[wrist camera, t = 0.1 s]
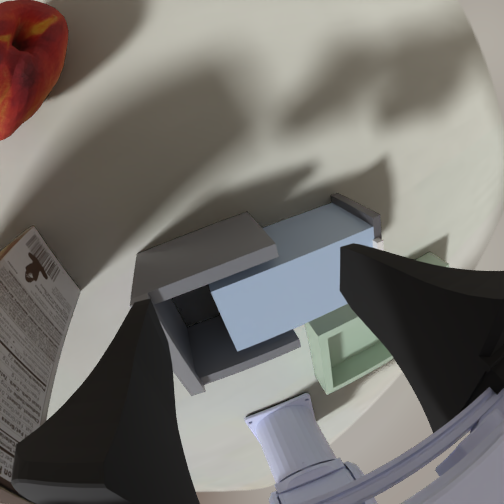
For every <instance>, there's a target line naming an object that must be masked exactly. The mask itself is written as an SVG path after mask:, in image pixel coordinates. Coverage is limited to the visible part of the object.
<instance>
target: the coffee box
mask: <svg viewBox="0 0 504 504" xmlns="http://www.w3.org/2000/svg"><path fill="white" fill-rule="evenodd" d="M79 295H80V289H79V288H78V287H77V285H76V284H75V283H74V281H73V280H72V279H71V278H70V276H69V275H68V274H67V272H66V271H65V270H64V268H63V267H62V266H61V264H60V263H59V261H58V260H57V259H56V257H55V256H54V254H53V253H52V252H51V250H50V249H49V247H48V246H47V244H46V243H45V242H44V240H43V239H42V237H41V236H40V234H39V232H38V231H37V229H36V228H35V227H34V226H31V227H29V228H28V229H27V230H25V231H24V232H23V233H21V234H20V235H19V236H18V237H17V238H15V239H14V240H13V241H12V242H11V243H9V244H8V245H7V246H6V247H5V248H4V249H3V250H1V251H0V503H2V504H35V503H34V502H32V501H30V500H28V499H27V498H25V497H24V496H22V495H21V494H19V493H18V492H17V491H16V490H15V489H14V487H13V486H12V484H11V478H12V469H13V462H14V456H15V449H16V444H18V443H19V442H20V441H22V440H23V439H24V438H26V437H27V436H28V435H30V434H31V433H32V432H34V431H35V430H36V429H38V428H39V427H40V426H41V425H42V424H44V423H45V422H46V418H47V412H48V407H49V402H50V397H51V392H52V388H53V383H54V379H55V375H56V371H57V367H58V363H59V359H60V355H61V351H62V348H63V344H64V341H65V337H66V334H67V331H68V327H69V324H70V321H71V318H72V316H73V312H74V309H75V306H76V303H77V301H78V298H79Z"/></svg>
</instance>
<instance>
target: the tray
mask: <svg viewBox="0 0 504 504" xmlns="http://www.w3.org/2000/svg"><path fill="white" fill-rule="evenodd" d="M416 260H417V261H421V262H425V263H429V264H433V265H438V266H444V267H449V264H448V263H447V262H445V261H444V260H442V259H440V258H439V257H437V256H436V255H434V254H433V253H431V252H429V253H427V254H425V255H423V256H421V257H420V258H418V259H416ZM305 327H306V332H307V337H308V342H309V347H310V352H311V357H312V362H313V367H314V372H315V376H316V378H317V380H318V381H319V383H320V385H321V386H322V388H323V390H324V391H325V393H326V394H327V395H328V394H330V393H332V392H334V391H336V390H338V389H340V388H342V387H344V386H346V385H348V384H350V383H352V382H353V381H355V380H357V379H359V378H361V377H363V376H364V375H366V374H368V373H370V372H372V371H373V370H375V369H377V368H379V367H380V366H382V365H384V364H385V363H387V362H389V361H390V360H392V359H394V358H393V356H392V355H391V354H390V352H389V351H388V350H387V348H386V347H385V346H384V345H383V344H382V343H381V341H380V340H379V339H378V338H377V337H376V336H375V335H374V334H373V332H372V331H371V330H370V329H369V328H368V327H367V326H366V325H365V324H364V322H363V321H362V320H361V319H360V318H359V317H358V316H357V315H356V313H355V312H354V311H353V310H352V309H351V307H350V306H349V304H346V305H344V306H342V307H340V308H338V309H336V310H333V311H331V312H329V313H327V314H325V315H323V316H321V317H318V318H316V319H314V320H312V321H310V322H307V323H305Z"/></svg>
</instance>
